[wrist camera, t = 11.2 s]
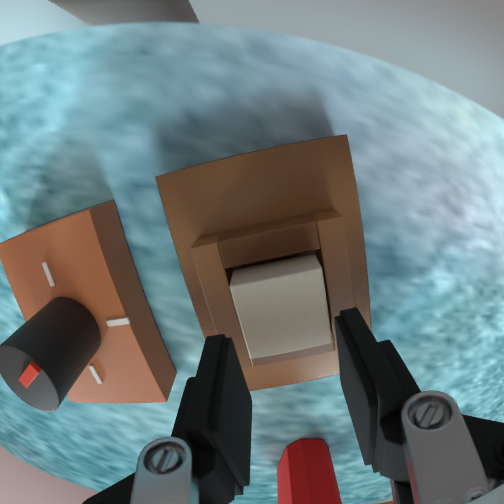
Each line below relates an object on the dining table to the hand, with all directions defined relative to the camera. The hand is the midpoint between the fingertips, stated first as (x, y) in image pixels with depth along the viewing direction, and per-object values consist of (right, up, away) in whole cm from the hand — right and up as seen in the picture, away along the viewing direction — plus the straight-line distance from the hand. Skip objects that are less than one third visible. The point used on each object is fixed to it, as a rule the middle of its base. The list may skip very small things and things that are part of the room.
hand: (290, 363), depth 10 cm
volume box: (-12, 0, +9) cm, 15 cm away
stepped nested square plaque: (0, +3, +8) cm, 8 cm away
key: (0, +1, +5) cm, 5 cm away
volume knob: (-12, -1, +6) cm, 13 cm away
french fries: (+3, -14, +13) cm, 20 cm away
